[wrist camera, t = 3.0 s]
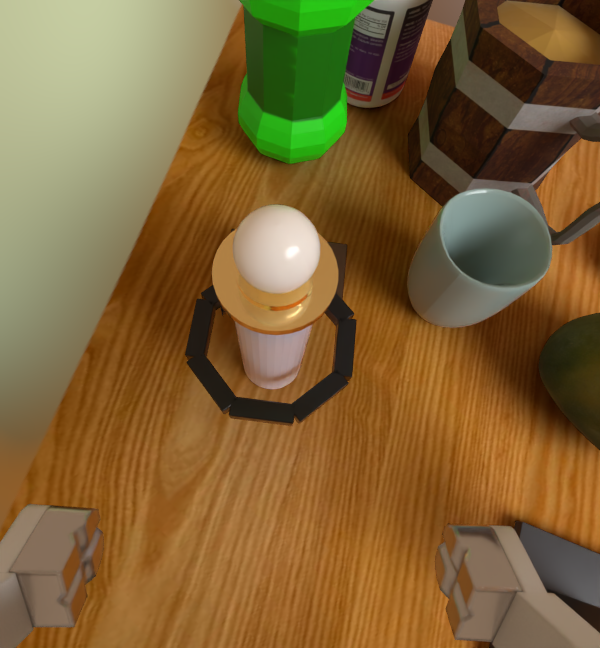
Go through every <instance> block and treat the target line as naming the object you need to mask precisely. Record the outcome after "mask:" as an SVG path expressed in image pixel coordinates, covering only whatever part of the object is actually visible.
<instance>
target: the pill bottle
mask: <svg viewBox="0 0 600 648" xmlns="http://www.w3.org/2000/svg"><path fill="white" fill-rule="evenodd" d="M432 1H433V0H374V1H373V2H372V3H371V4H370V5H368V6H367V7H366V8H365V9H364V10H363V11H361V12H360V13H359V14H358V15H357V16H356V17H355V22H354V27H353V33H352V38H351V43H350V49H349V54H348V59H347V65H346V70H345V75H344V81H343V83H344V85H345V89H346V93H347V103H349V104H351V105H354V106H357V107H363V108H374V107H379V106H383V105H386V104H388V103H390V102H391V101H393V100H394V99H395V98H396V97H397V96H398V95H399V94H400V93H401V91H402V90H403V87H404V85H405V82H406V80H407V77H408V73H409V70H410V67H411V64H412V61H413V58H414V55H415V52H416V49H417V46H418V43H419V40H420V37H421V34H422V31H423V28H424V25H425V22H426V19H427V16H428V12H429V9H430V7H431V4H432Z"/></svg>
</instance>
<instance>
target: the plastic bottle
mask: <svg viewBox="0 0 600 648" xmlns="http://www.w3.org/2000/svg"><path fill="white" fill-rule="evenodd" d="M373 1H374V0H240V2H241V3H242V4H243V5H244V23H245V43H246V64H247V74H246V75H245V77H244V80H243V82H242V85H241V91H240V99H239V107H238V120H239V124H240V126H241V127H242V129H243V131H244V132H245V133H246V135H247V136H248V137H249V139H250V140H251V141H252V143H253V144H254V145H255V147H256V148H257V149H258V151H259V152H260V153H261V154H263V155H265V156H268V157H271V158H274V159H277V160H279V161H282V162H285V163H288V164H293V163H298V162H304V161H309V160H315V159H319V158H320V157H321V156H322V155H323V154H324V153H325V152H326V151H327V150H328V149H329V148H330V147H331V146H332V145H333V144H334V143H335V142H336V141H337V140H338V139H339V138H340V137H341V136H342V135H343V133H344V132H345V128H346V123H347V93H346V89H345V85H344V83H343V81H344V75H345V70H346V65H347V59H348V54H349V49H350V43H351V38H352V33H353V27H354V22H355V17H356V16H357V15H358V14H359V13H360V12H361V11H363V10H364V9H365V8H366V7H367V6H368V5H370V4H371V3H372V2H373Z"/></svg>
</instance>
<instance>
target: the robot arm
mask: <svg viewBox="0 0 600 648" xmlns="http://www.w3.org/2000/svg"><path fill="white" fill-rule="evenodd" d="M99 521H100V515H99V510H98V509H94V508H80V507H67V506H53V505H34V504H29V505H27V506H26V507H25V508H24V509H22V510H21V512H20V513H19V515H18V516H17V518H16V519H15V521H14V522H13V524H12V525H11V527H10V528H9V530H8V531H7V533H6V534H5V536H4V538H3V539H2V541H1V542H0V648H15V647H16V646H17V645H18V644H19V643H20V642H21V641H22V640H23V639H24V638H25V637H26V636H28V635H29V634H30V633H31V632H32V631H33V627H75V624H76V622H77V620H78V617H79V615H80V612H81V610H82V608H83V605H84V603H85V601H86V598H87V592H86V587H85V585H86V584H87V583H88V582H89V581H91V580H92V579H93V578H94V577H95V576H96V574H97V571H98V569H99V566H100V564H101V559H102V555H103V550H104V536H103V532H102V531H101V530H100V529H99V528H97V526H98V523H99ZM442 535H443V538H444V541H445V542H444V543H442V544H441V545H439V546H438V548H437V552H436V556H435V570H436V576H437V581H438V584H439V588H440V590H441V591H442V592H443V593H444V594H445V595H446V596H447V597H448V598H449V601H448V604H447V607H446V612H447V615H448V618H449V622H450V625H451V628H452V632H453V635H454V638H455V640H469V641H485V642H493V643H492V645H493V646H494V647H495V648H600V633H599V632H598V631H597V630H596V629H595V628H593V627H592V626H591V625H590V624H589V623H588V622H586V621H585V620H584V619H583V618H582V617H581V616H579V615H578V614H577V613H576V612H575V611H574V610H573V609H571V608H570V607H569V606H568V605H567V604H566V603H564V602H563V601H562V600H561V599H560V598H559V597H558V596H556V595H555V594H554V593H547V591H546V589H545V587H544V585H543V583H542V581H541V580H540V578H539V576H538V574H537V572H536V570H535V568H534V566H533V564H532V562H531V560H530V558H529V556H528V554H527V552H526V550H525V549H524V547H523V545H522V543H521V541H520V539H519V537H518V535H517V533H516V531H515V530H514V529H513V528H512V527H511V526H496V525H483V524H450V523H448V524H447V525H446V526H445V527H444V530H443V533H442Z"/></svg>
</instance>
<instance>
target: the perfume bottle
mask: <svg viewBox="0 0 600 648" xmlns="http://www.w3.org/2000/svg"><path fill="white" fill-rule="evenodd" d="M212 279H213V286H214V289H215V293H216V296H217V299H218V301H219V303H220V307H221V311H222V315H223V312H226V313H227V314H228V315H229V316H230V317H231V318H232V319H233V320H234V322H235V327H236V332H237V337H238V342H239V347H240V352H241V357H242V362H243V367H244V370H245V373H246V375H247V376H248V378H249V379H250V380H251V381H252V382H253V383H255V384H256V385H258V386H260V387H262V388H266V389H279V388H282V387H285V386H286V385H288V384H290V383H291V382H292V381H293V380H294V379H295V378H296V376H297V375H298V373H299V371H300V367H301V364H302V360H303V357H304V353H305V350H306V346H307V342H308V339H309V335H310V332H311V328H312V325H313V323H315V322H316V321H317V320H318V319H319V318H321V317H322V316H323V314H324V313H325V312H326V311H327V309H328V308H329V306H330V304H331V302H332V300H333V298H334V295H335V292H336V288H337V284H338V266H337V261H336V258H335V256H334V253H333V251H332V249H331V247H330V246H329V244H328V243H327V241H326V240H325V239H324V238H323V237H322V236H321V235H320V234H319V233H318V232H317V231H316V229H315V227H314V225H313V224H312V222H311V221H310V220H309V219H308V218H307V217H306V216H305V215H304V214H303V213H302V212H300V211H299V210H297V209H295V208H293V207H290V206H287V205H281V204H271V205H266V206H262V207H260V208H258V209H255V210H254V211H253V212H251V213H250V214H248V215H247V216H246V217H245V218H244V219H243V220H242V221H241V223H240V225H239V226H238V228H237V229H235V230H234V231H233V232H231V233H230V234H229V235H228V236H227V237H226V238H225V239H224V240H223V242H222V244H221V245H220V247H219V248H218V250H217V252H216V255H215V258H214V260H213V267H212Z"/></svg>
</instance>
